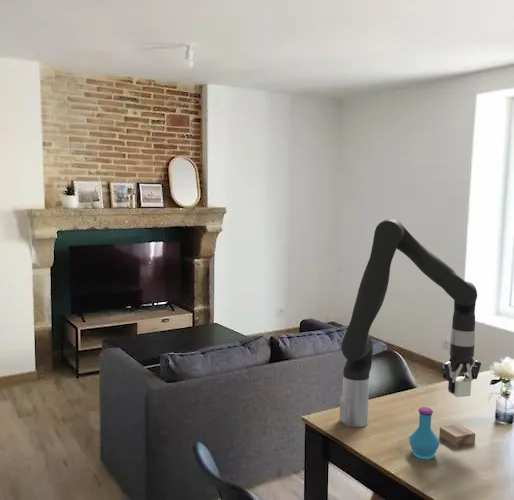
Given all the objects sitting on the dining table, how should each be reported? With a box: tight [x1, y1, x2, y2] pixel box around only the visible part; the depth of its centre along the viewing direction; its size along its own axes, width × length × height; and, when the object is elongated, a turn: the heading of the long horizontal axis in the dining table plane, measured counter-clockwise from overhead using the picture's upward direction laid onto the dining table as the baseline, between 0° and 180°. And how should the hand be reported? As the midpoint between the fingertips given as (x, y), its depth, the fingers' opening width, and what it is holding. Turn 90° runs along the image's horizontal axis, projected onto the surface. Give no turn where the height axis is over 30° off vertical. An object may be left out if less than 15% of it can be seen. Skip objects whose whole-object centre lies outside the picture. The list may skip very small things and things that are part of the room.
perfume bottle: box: [408, 406, 440, 460], centre depth 178 cm, size 9×9×15 cm
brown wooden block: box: [438, 423, 476, 448], centre depth 188 cm, size 8×8×4 cm
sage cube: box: [447, 375, 472, 398], centre depth 186 cm, size 5×5×5 cm
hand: (459, 391), depth 187 cm, fingers closed on sage cube, 5 cm apart
